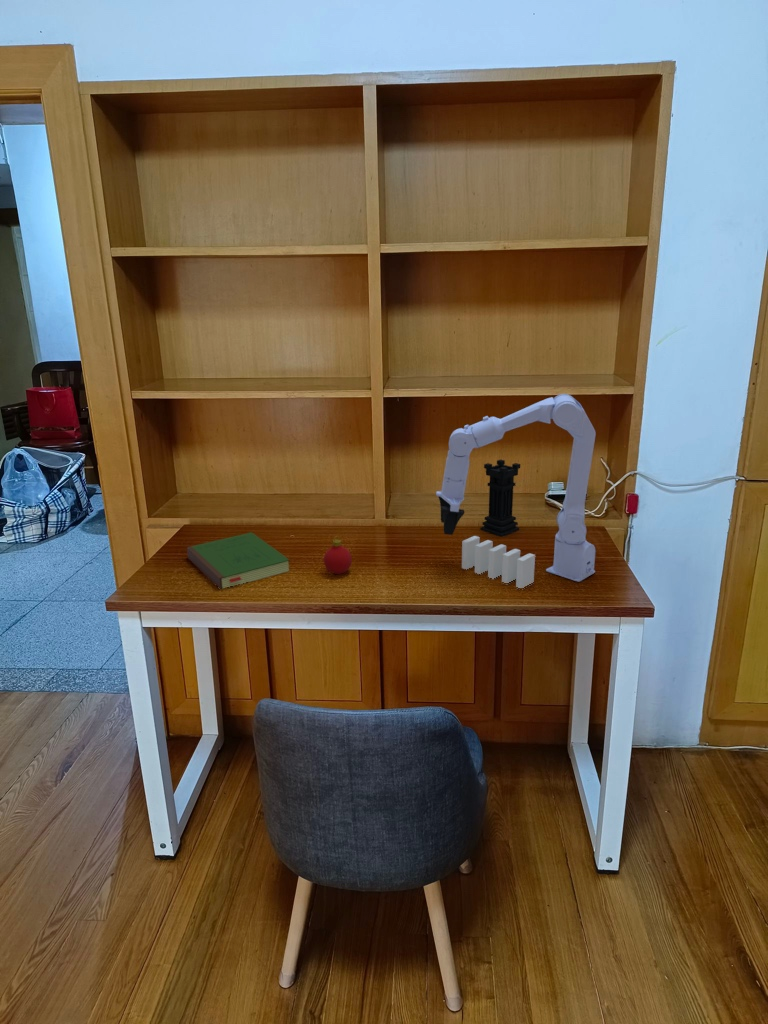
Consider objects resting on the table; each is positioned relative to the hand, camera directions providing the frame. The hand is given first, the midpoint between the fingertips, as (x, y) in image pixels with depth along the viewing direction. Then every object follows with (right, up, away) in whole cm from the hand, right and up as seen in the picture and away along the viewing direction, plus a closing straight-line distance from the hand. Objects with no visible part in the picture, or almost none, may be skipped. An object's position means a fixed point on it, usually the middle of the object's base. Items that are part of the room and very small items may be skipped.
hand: (446, 528), depth 173 cm
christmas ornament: (-28, -12, +1) cm, 30 cm away
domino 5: (+18, -14, -8) cm, 24 cm away
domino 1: (+6, -10, +3) cm, 12 cm away
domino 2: (+9, -11, 0) cm, 14 cm away
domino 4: (+15, -13, -5) cm, 21 cm away
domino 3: (+12, -12, -2) cm, 17 cm away
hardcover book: (-54, -11, +7) cm, 56 cm away
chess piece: (+18, -1, +27) cm, 33 cm away
